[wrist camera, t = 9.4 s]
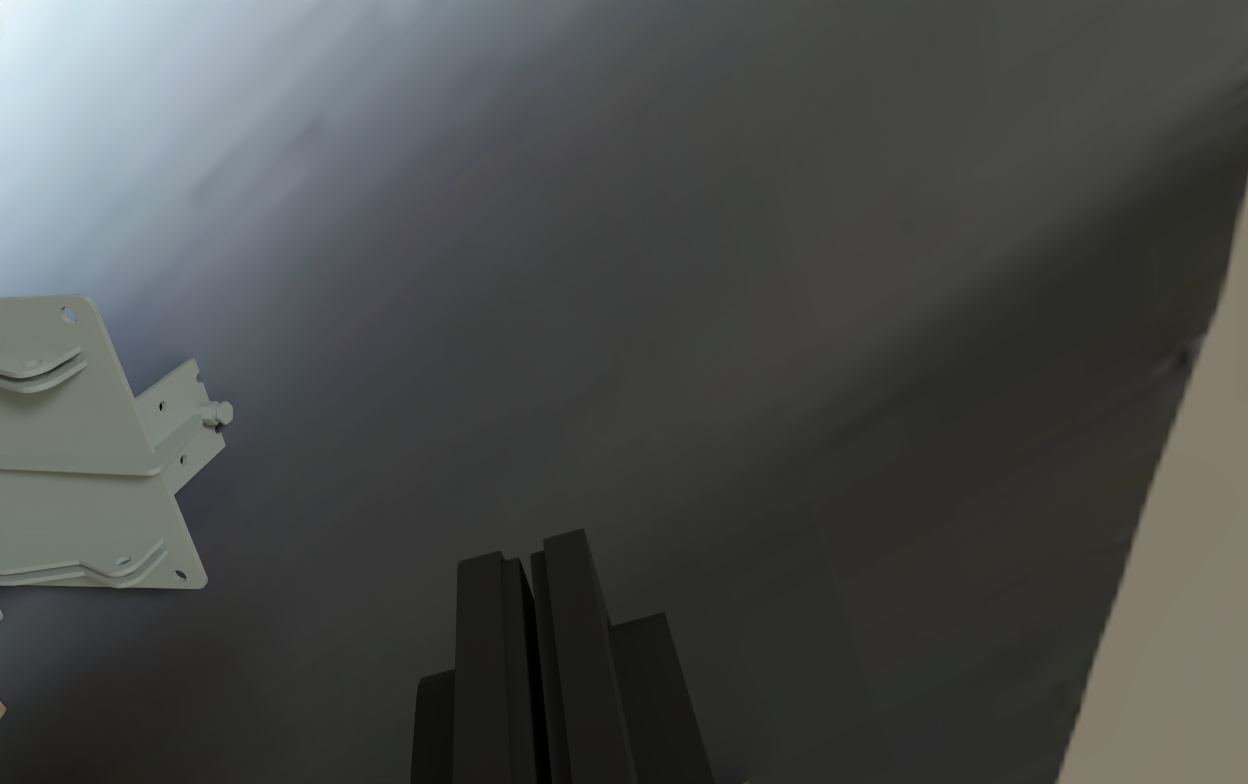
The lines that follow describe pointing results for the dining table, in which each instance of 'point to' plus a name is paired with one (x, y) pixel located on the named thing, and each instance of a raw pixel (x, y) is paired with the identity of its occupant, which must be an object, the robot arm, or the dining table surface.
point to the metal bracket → (94, 455)
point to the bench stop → (2, 709)
